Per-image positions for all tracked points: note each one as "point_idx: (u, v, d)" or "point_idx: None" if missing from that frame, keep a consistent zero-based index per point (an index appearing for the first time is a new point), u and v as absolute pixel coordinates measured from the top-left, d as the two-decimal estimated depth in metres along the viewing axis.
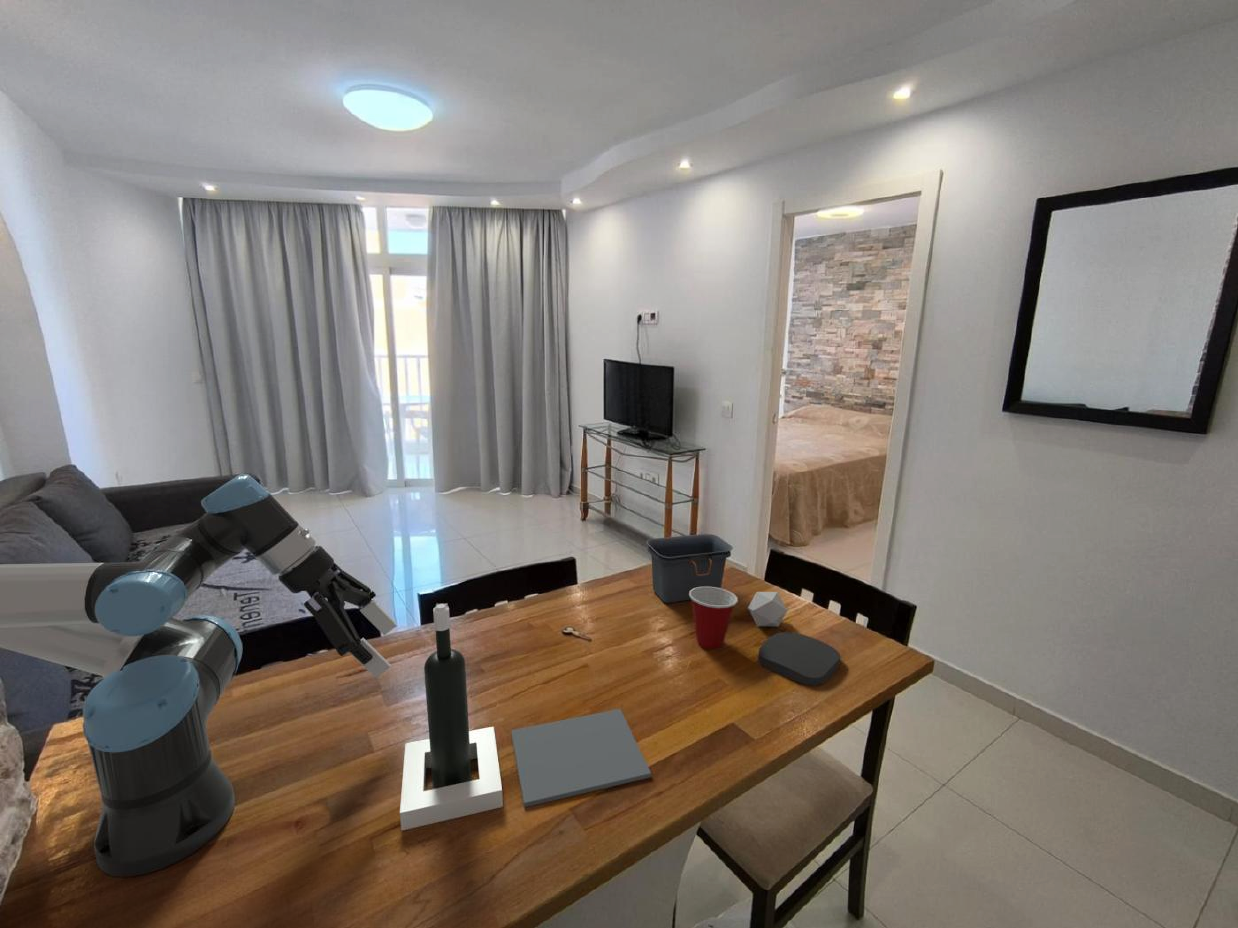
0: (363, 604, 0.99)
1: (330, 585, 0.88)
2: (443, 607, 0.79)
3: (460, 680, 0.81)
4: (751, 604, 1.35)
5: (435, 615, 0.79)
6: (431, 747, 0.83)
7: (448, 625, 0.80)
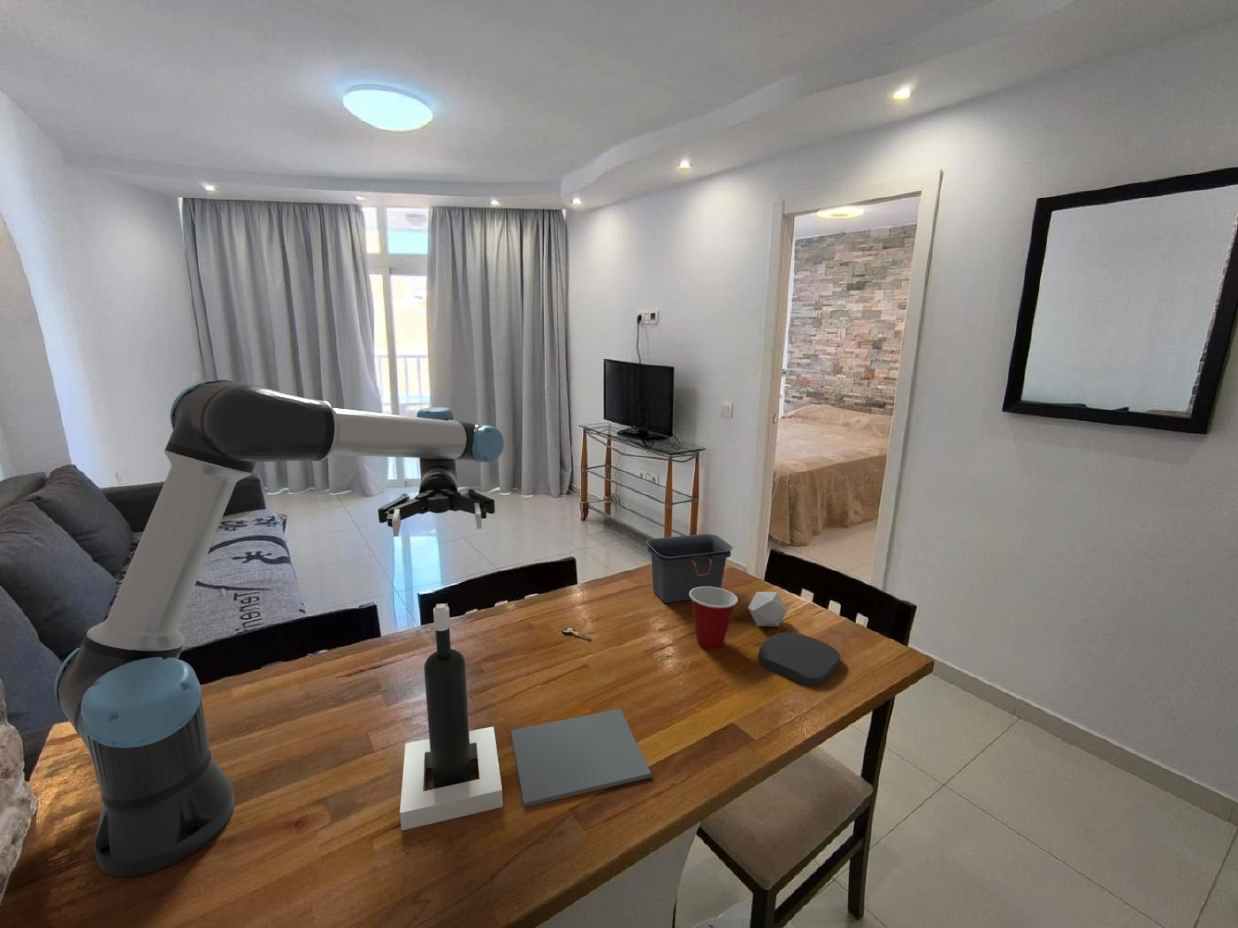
0: None
1: None
2: (443, 607, 0.79)
3: (460, 680, 0.81)
4: (751, 604, 1.35)
5: (435, 615, 0.79)
6: (431, 747, 0.83)
7: (448, 625, 0.80)
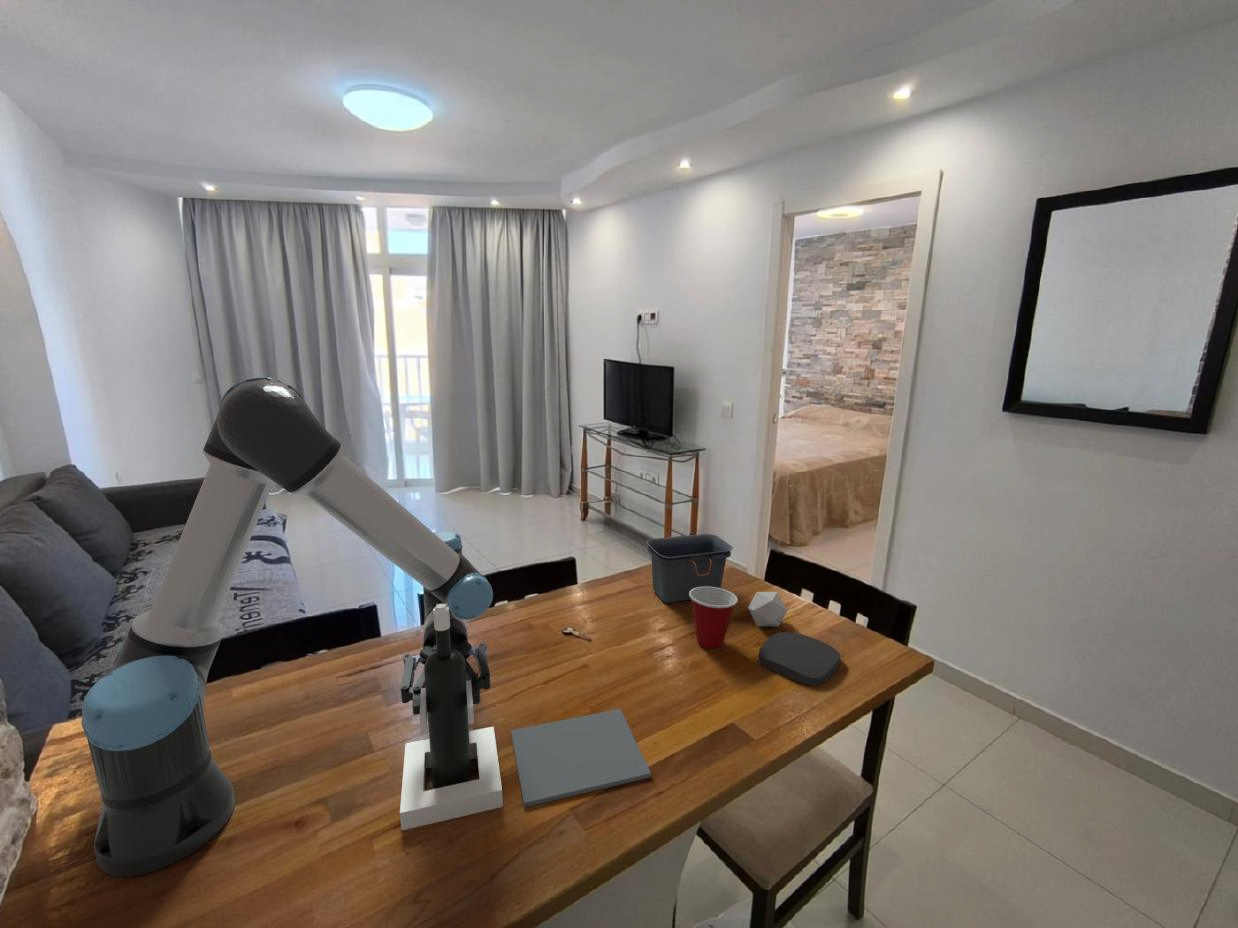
0: None
1: None
2: (443, 607, 0.79)
3: (460, 680, 0.81)
4: (751, 604, 1.35)
5: (435, 615, 0.79)
6: (431, 747, 0.83)
7: (448, 625, 0.80)
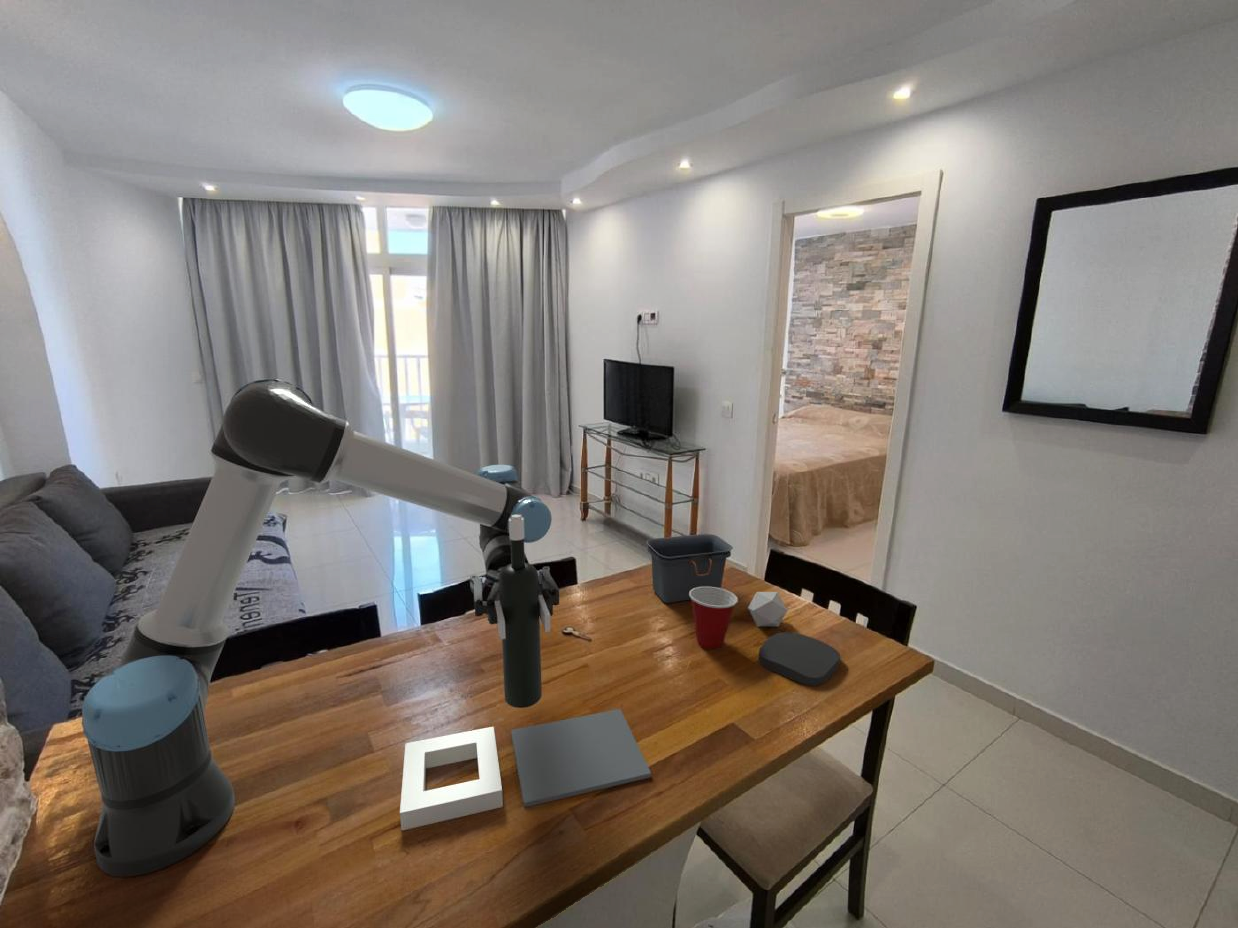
0: None
1: None
2: (519, 517, 0.80)
3: (535, 590, 0.82)
4: (751, 604, 1.35)
5: (511, 524, 0.80)
6: (505, 659, 0.84)
7: (523, 535, 0.81)
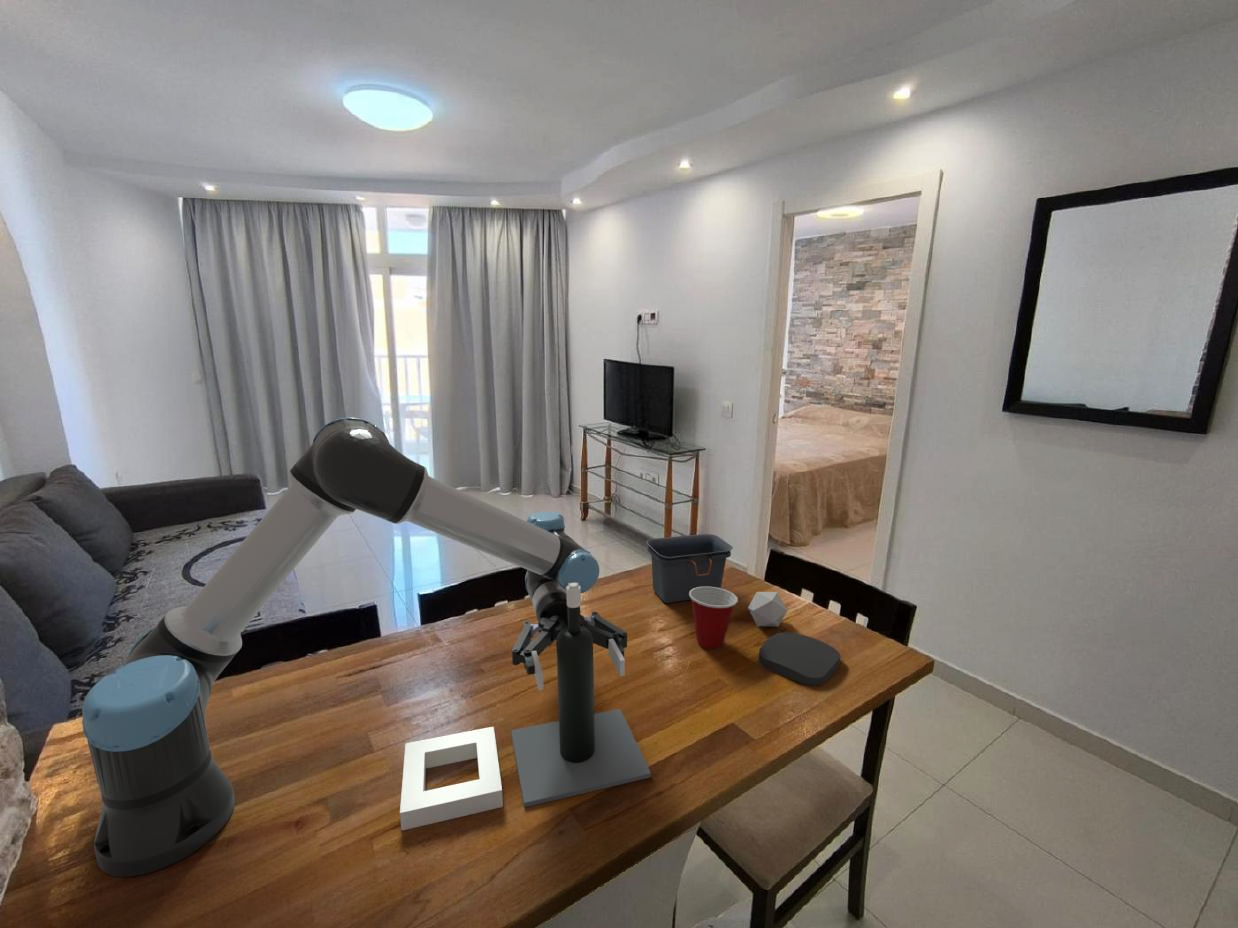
0: (531, 655, 0.89)
1: None
2: (576, 585, 0.84)
3: (591, 653, 0.86)
4: (751, 604, 1.35)
5: (569, 593, 0.84)
6: (562, 717, 0.88)
7: (580, 602, 0.85)
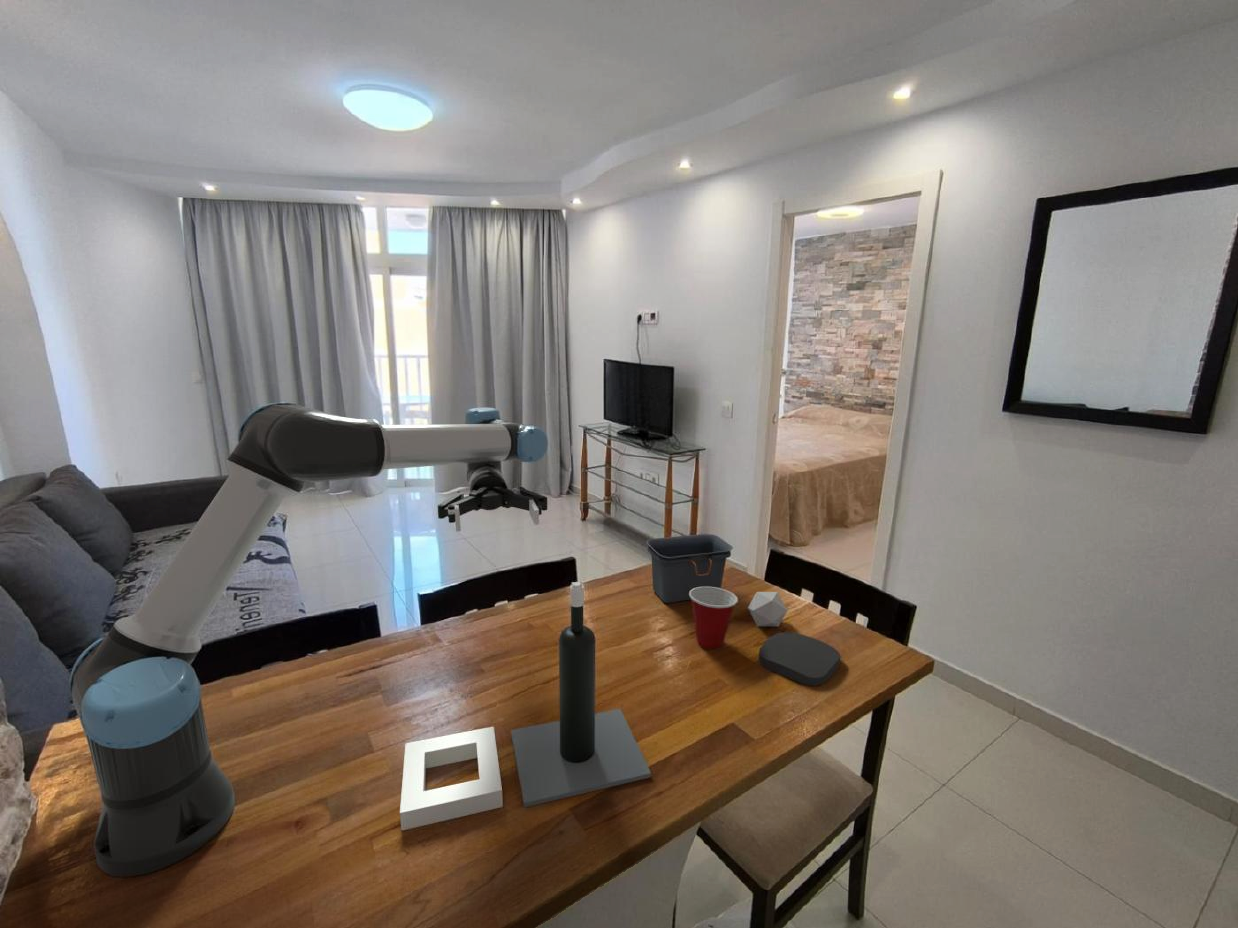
0: (454, 509, 1.01)
1: None
2: (579, 585, 0.85)
3: (593, 653, 0.87)
4: (751, 604, 1.35)
5: (572, 592, 0.84)
6: (563, 716, 0.88)
7: (583, 602, 0.86)
